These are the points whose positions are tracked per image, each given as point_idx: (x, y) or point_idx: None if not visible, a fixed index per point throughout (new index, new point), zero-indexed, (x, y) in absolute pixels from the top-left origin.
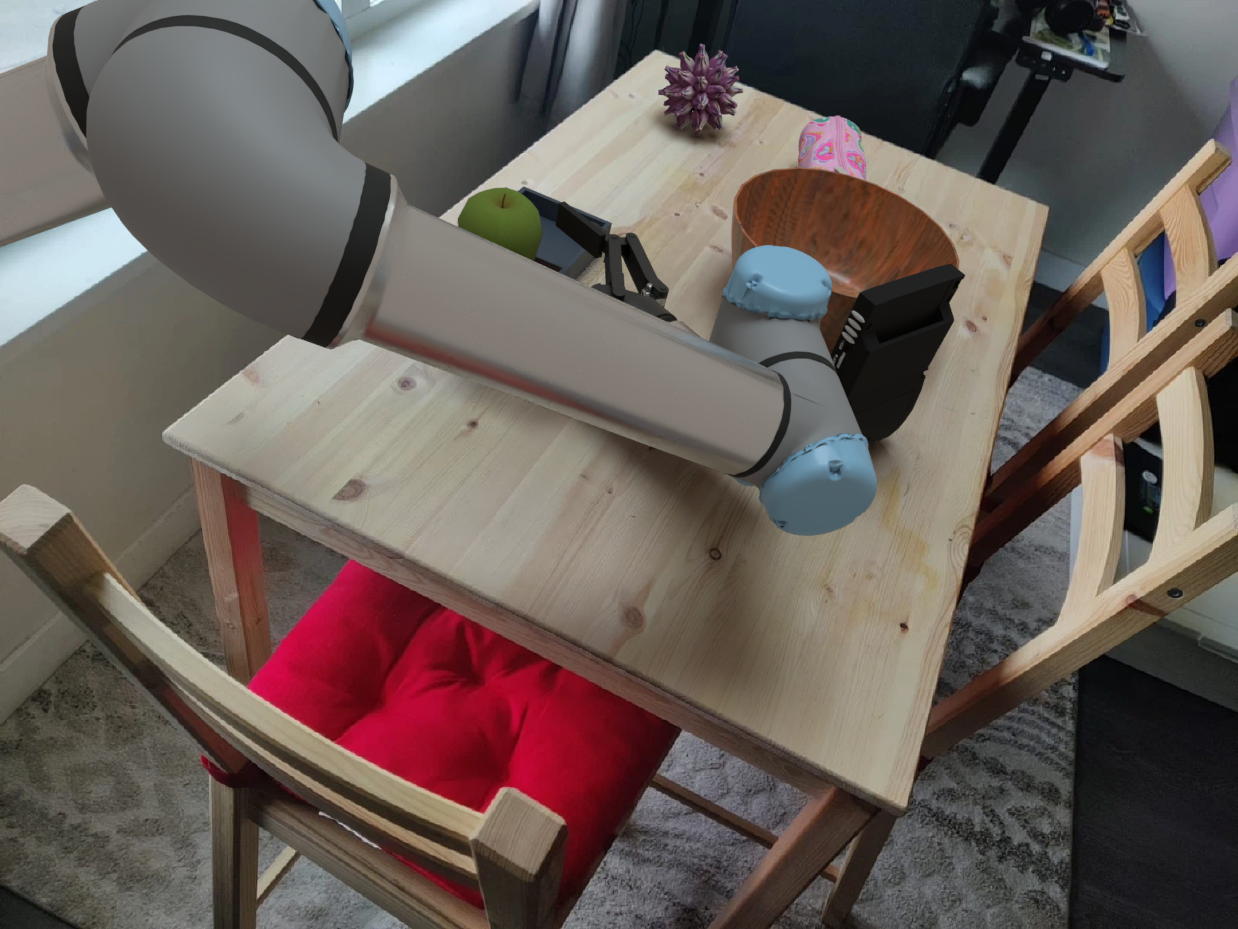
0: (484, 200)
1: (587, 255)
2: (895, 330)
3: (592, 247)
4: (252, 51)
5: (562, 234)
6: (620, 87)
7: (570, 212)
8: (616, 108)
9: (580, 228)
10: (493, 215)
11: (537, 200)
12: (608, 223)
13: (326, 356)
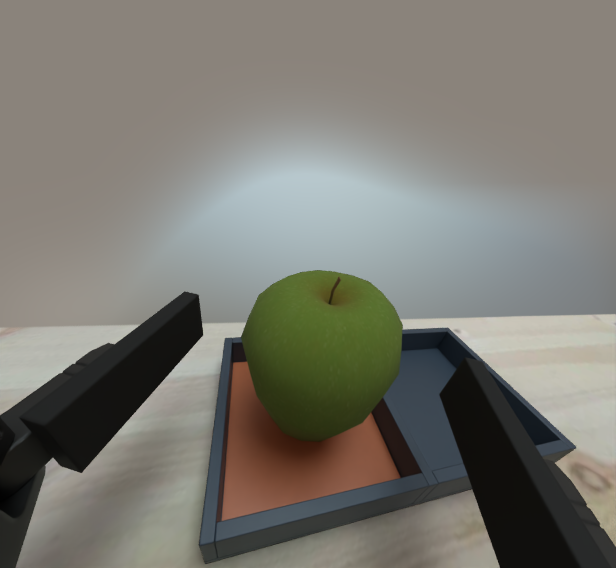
0: (307, 276)
1: None
2: None
3: (519, 563)
4: None
5: None
6: (603, 315)
7: (484, 394)
8: (596, 325)
9: (497, 457)
10: (283, 298)
11: (456, 348)
12: (568, 443)
13: (70, 355)
